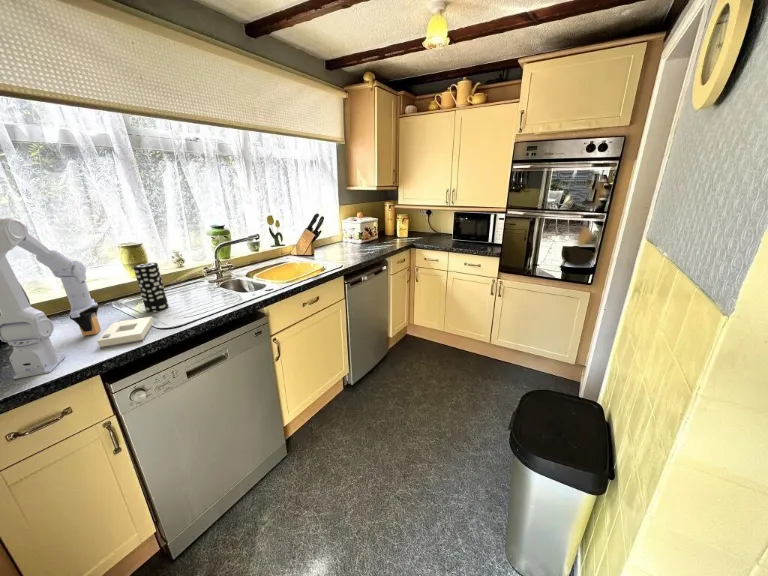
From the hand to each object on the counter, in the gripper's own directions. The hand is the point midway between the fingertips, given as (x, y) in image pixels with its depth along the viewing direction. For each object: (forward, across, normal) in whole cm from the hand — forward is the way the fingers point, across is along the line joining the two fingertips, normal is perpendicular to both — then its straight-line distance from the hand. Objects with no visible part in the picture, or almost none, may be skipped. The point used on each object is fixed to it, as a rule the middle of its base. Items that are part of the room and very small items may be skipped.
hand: (90, 328), depth 114 cm
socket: (+2, -8, -13) cm, 15 cm away
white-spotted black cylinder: (+2, +18, -17) cm, 25 cm away
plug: (+2, 0, 0) cm, 2 cm away
